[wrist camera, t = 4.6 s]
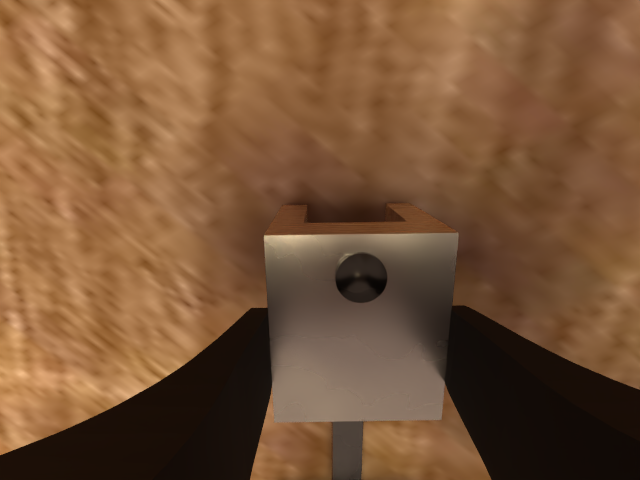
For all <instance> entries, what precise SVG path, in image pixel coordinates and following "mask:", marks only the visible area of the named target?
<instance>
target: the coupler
mask: <svg viewBox="0 0 640 480" xmlns="http://www.w3.org/2000/svg"><path fill="white" fill-rule="evenodd" d="M362 440H363V421H336V422H332V480H361V471H362Z"/></svg>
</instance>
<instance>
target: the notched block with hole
mask: <svg viewBox="0 0 640 480" xmlns="http://www.w3.org/2000/svg"><path fill="white" fill-rule="evenodd" d="M458 238H459V233H458V232H457V231H455V230H453V229H452V228H450V227H449V226H447V225H445V224H444V223H442V222H440V221H439V220H437V219H435V218H434V217H432V216H430V215H429V214H427V213H426V212H424V211H422V210H421V209H419V208H417V207H416V206H414V205H412V204H411V203H400V204H386V213H385V222H346V223H307V205H282V207H281V208H280V210H279V212H278V213H277V215H276V216H275V218H274V220H273V221H272V223H271V225H270V226H269V228H268V229H267V231H266V233H265V234H264V249H265V267H266V284H267V302H268V319H269V337H270V354H271V372H272V389H273V406H274V422H336V421H401V420H441V419H442V408H443V398H444V387H445V370H446V360H447V349H448V338H449V328H450V317H451V310H452V302H453V291H454V280H455V270H456V259H457V248H458Z"/></svg>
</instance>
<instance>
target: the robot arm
mask: <svg viewBox="0 0 640 480" xmlns="http://www.w3.org/2000/svg"><path fill="white" fill-rule="evenodd" d="M445 384H446V387H447V389H448V392H449V394H450V396H451V398H452V401H453V403H454V405H455V407H456V409H457V411H458V413H459V415H460V417H461V419H462V421H463V423H464V425H465V427H466V428H467V430H468V432H469V434H470V436H471V438H472V440H473V442H474V444H475V446H476V448H477V450H478V452H479V454H480V456H481V458H482V460H483V462H484V464H485V466H486V468H487V471H488V473H489V475H490V477H491V479H492V480H640V390H639V389H636V388H633V387H630V386H628V385H625V384H623V383H620V382H618V381H615V380H613V379H610V378H608V377H605V376H603V375H601V374H598V373H596V372H594V371H591V370H589V369H587V368H584V367H582V366H580V365H577V364H575V363H573V362H571V361H569V360H567V359H565V358H563V357H560V356H558V355H556V354H554V353H552V352H550V351H548V350H546V349H544V348H542V347H540V346H539V345H537V344H535V343H533V342H531V341H529V340H527V339H525V338H524V337H522V336H520V335H518V334H516V333H515V332H513V331H511V330H509V329H507V328H506V327H504V326H502V325H500V324H499V323H497V322H495V321H493V320H491V319H490V318H488V317H486V316H484V315H482V314H481V313H479V312H477V311H475V310H473V309H471V308H469V307H467V306H452V310H451V317H450V328H449V338H448V349H447V360H446V370H445ZM271 388H272V372H271V354H270V337H269V319H268V308H251V309H250V310H248V311H247V312H246V313H245V314H244V315H243V316H242V317H241V318H240V319H239V320H238V321H237V322H235V323H234V324H233V325H232V326H231V327H230V328H229V329H228V330H227V331H226V332H224V333H223V334H222V335H221V336H220V337H219V338H218V339H217V340H215V341H214V342H213V343H212V344H210V345H209V346H208V347H207V348H205V349H204V350H203V351H202V352H200V353H199V354H198V355H197V356H195V357H194V358H193V359H192V360H190V361H189V362H188V363H186V364H185V365H183V366H182V367H181V368H179V369H178V370H176V371H175V372H173V373H172V374H170V375H169V376H167V377H165V378H164V379H162V380H161V381H159V382H158V383H156V384H154V385H153V386H151V387H149V388H147V389H145V390H144V391H142V392H140V393H138V394H137V395H135V396H133V397H131V398H129V399H128V400H126V401H124V402H122V403H120V404H119V405H117V406H115V407H113V408H111V409H109V410H107V411H105V412H103V413H100V414H98V415H96V416H94V417H92V418H90V419H88V420H86V421H83V422H81V423H79V424H77V425H75V426H72V427H70V428H68V429H66V430H63V431H61V432H59V433H56V434H54V435H51V436H49V437H46V438H44V439H41V440H39V441H36V442H33V443H31V444H28V445H26V446H23V447H21V448H18V449H16V450H13V451H11V452H8V453H5V454H3V455H0V480H250V476H251V472H252V467H253V463H254V459H255V455H256V451H257V447H258V443H259V439H260V435H261V431H262V427H263V423H264V419H265V415H266V411H267V407H268V403H269V399H270V395H271Z"/></svg>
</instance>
